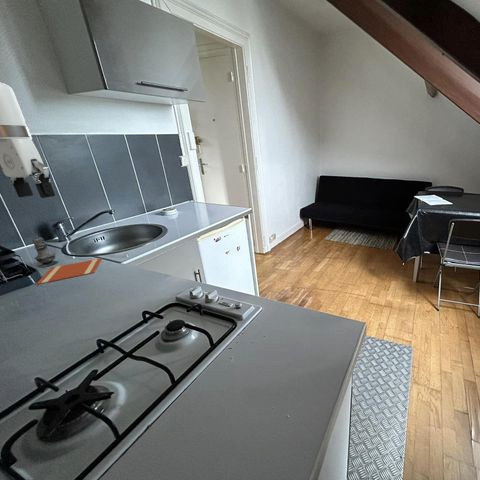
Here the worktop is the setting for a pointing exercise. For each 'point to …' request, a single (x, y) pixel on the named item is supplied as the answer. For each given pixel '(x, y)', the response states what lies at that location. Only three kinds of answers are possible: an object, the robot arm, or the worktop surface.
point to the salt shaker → (43, 253)
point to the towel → (70, 271)
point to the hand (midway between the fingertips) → (37, 196)
